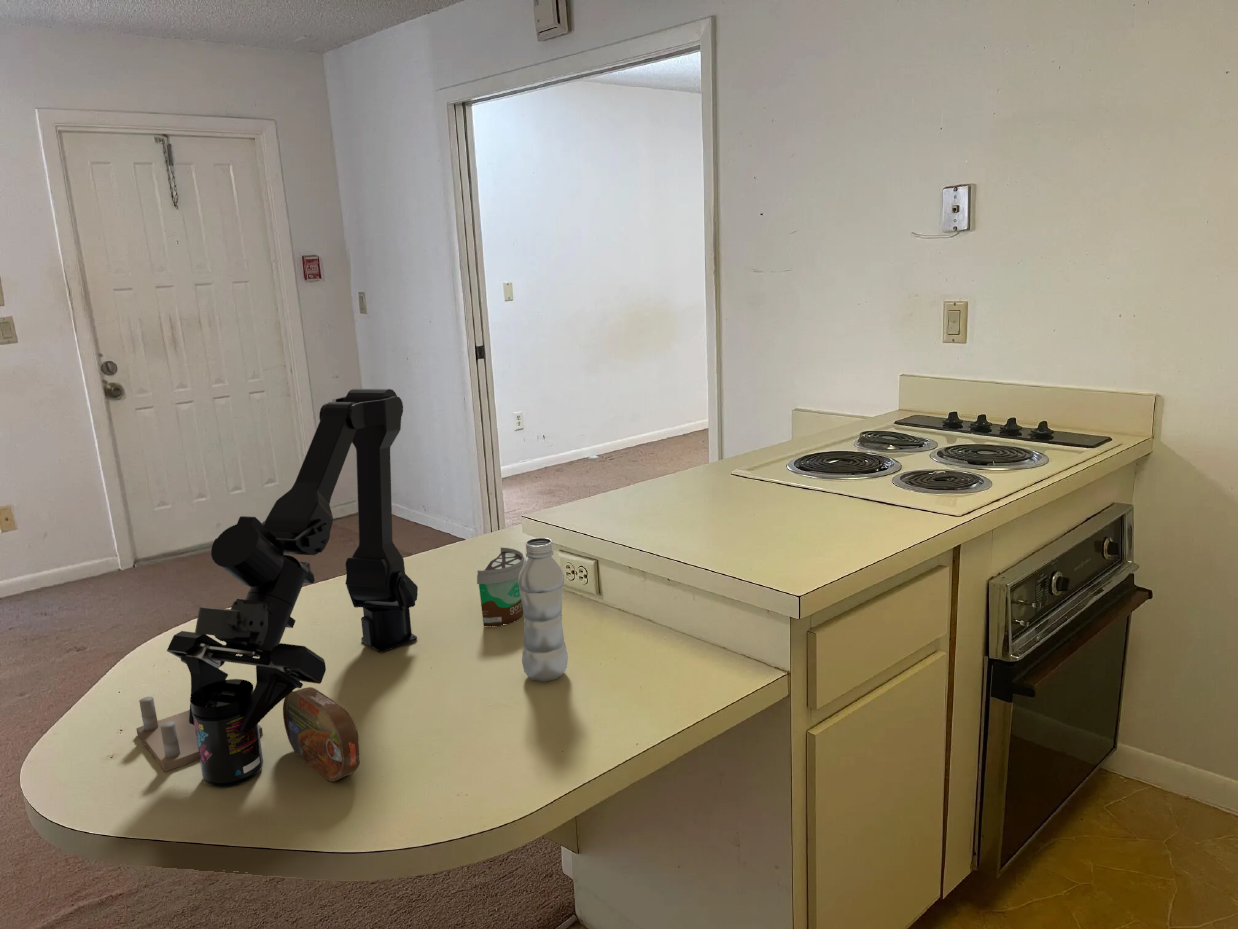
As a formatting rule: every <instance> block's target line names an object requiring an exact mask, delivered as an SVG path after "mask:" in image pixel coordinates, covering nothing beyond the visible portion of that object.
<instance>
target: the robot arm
mask: <svg viewBox="0 0 1238 929" xmlns="http://www.w3.org/2000/svg"><path fill="white" fill-rule="evenodd" d="M403 412H404V403H403V400H402V399H401V398H400V396H398V394H397V393H396V391H395V390H393V389H391V388H352V389H350V390H349V391H348V392H347V394H346V395H345V396H341V397H337V398H333V399H332V400H331V401H328V403H324V404H323V405H321V408H320V410H319V423H318V425H317V426H316V430H315V432H314V434H313V437H312V440H311V441H310V444H309V447H308V450H307V451H306V454H305V456H304V459H303V462H302V464H301V466H300V469H299V471H298V474H297V476H296V478H295V481H294V483H293V485H292V487H291V488H290V489H289V490H288V491H287V492H285V493H284V494H283V495H282V496H280V497H279V498H278V499H277V500H276V501H275V503H274V504H273V506H272V508H271V509H270V511H269V513H268V515H267V516H266V518H265V520H264V521H263V522H261V521H260V520H259V519H258V518H257V517H256V516H249V515H248V516H246V515H243V516H242V515H241V516H239V517H238V520H237V523H236V524H233V525H231V526H229V527H228V528H226V529H225V530H223V531H222V533H220V534H219V535H218V536H217V538H215V539H214V541H212V542H213V543H212V546H211V549H210V550H211V553H210V555H211V558H212V561H213V562H214V563H215V565H217V566H219V567H220V568H221V569H222V570H224V571H226V572H227V573H228V574H230V575H231V577H233V578H234V579H236V580H237V581H239V582H240V583H241V584H243V585H244V586H247V587H249V588H248V591H247V593H246V596H245V598H244V599H243V598H242V599H241V598H236V600H235V601H233V604H232V606H231V607H230V608H219V607H218V608H216V607H206V606H205V607H201V606H199V609H198V614H197V620H196V625H195V628H194V629H195V631H194V632H193V631H187V630H186V631H185V630H182V631H179V632H177V633H176V634H173V637H172V638H171V641H170V643H169V644H168V646H167V649H166V652H168V653H170V654H172V655H173V656H175V657H176V658H179V659H180V661H181V662H182V663H183V664H186V667H187V669H188V671H189V674H190V697H191V696H192V694H193V693H194V692H195V691H197V690H198V689H200V688H202V687H204V686H206V685H208V684H211V683H214V682H218V681H222V680H227V678H228V676H229V673H227V672H225V671H224V670H222V669H220V667H222V666H223V665H225V663H234V664H240V665H241V664H243V665H249V666H256V667H255V673H256V675H255V676H256V684H255V686H254V692H253V694H252V697H251V699H250V702H249V704H248V707H247V709H246V712H245V714H244V717H243V720H242V724H241V728H240V732H242V733H245V734H247V733H249V732H250V731H251V730H252V729H253V728H254V727H255V726H256V725H257V724H259V723H260V722H261V721H262V720H263V719H264V718H265V717H266V716H267V714H269V713H270V712H271V711H272V710H273V709H274V708H275V707H276V706H277V705H278V704H279V703H280V702H281V701H283V700H284V699H285V697H286V696H287V695H288V694H289V693H291V692H292V691H295V689H303V688H302V687H303V685H304V684H303V683H302V682H304V683H311V684H318V685H321V683H322V681H323V678H324V676H325V673H326V670H327V667H326V661H325V659H324V658H323V657H322V656H320V655H318V654H317V653H316V652H314V651H313V650H311V649H310V648H308V647H307V646H305V645H297V644H289V643H284V642H283V643H282V642H281V641H282V639H283V636H284V633H285V631H286V628H289V629H293V628H294V626H295V623H296V621H297V620H296V619H294V618H292V613H293V610H294V607H295V605H296V602H297V601H298V598H299V595H300V592H301V590H302V588H303V586H304V584H310V585H312V584H314V583H315V580H316V579H315V575H314V573H313V571H312V569H311V565H310V562H307V561H299V560H298V559H297V558H296V557H294V556H291V555H298V556H299V555H302V556H303V555H304V556H316V555H317V554H319V553H320V554H321V553H323V551H324V550H325V549H326V546H327V545H328V544H329V543H328V542H329V540H330V537H331V530H332V526H333V522H334V517H333V513H332V509H331V506H330V503H331V499H332V496H333V494H334V491H335V488H336V485H337V483H338V480H339V477H340V475H341V471H342V470H343V467H344V464H345V462H346V458H347V456H348V454H349V451H350V448H351V445H353V446H354V448H355V451H356V452H355V453H356V460H355V461H356V483H357V484H356V488H357V489H356V490H357V492H356V493H357V516H358V517H357V518H358V520H357V521H358V522H357V527H358V546H357V548H355V551H354V552H353V554H352V556H350V557H347V559H346V561H345V572H346V573H345V574H346V579H345V586H346V589H347V592H348V595H349V597H350V599H351V600H350V601H351V602H352V605H353V607H354V608H362V611H363V615H362V617H361V619H360V620H361V629H362V636H361V641H362V642H363V643H365V644H366V645H368V646H369V647H371V648H372V649H374V650H376V651H377V652H378V653H384V652H387V651H389V650H393V649H395V648H398V647H401V646H404V645H406V644H410V643H412V642H415V641H417V640H418V636H417V635H415V634H413V633H412V624H411V623H412V622H411V612H410V608H414V607H415V606H416V601H417V599H418V590H419V587H418V585H417V584H416V583H415V582H414V581H413V580H412V579H411V577H409V576H408V575H407V574H406V570H405V567H406V566H405V560H404V558H403V556H402V554H401V553H400V551H399V549H398V548H397V547H396V545H395V544H394V541H393V517H392V516H393V515H392V514H393V511H392V510H393V509H392V476H391V474H392V473H391V471H392V470H391V469H392V468H391V467H392V466H391V447H392V445H393V443H394V442H395V440H396V438H397V436H398V435H399V433H400V431H401V428H402V426H401V425H402V416H403ZM211 636H214V638H215V639H217V640H218V641H217V640H215V639H214V638H213V637H211ZM219 641H220V642H219ZM221 642H225V644H222V643H221ZM189 710H190V713H189V723H190V724H192V725H194V720H193V715H192V709H191V703H189Z"/></svg>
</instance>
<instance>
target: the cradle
mask: <svg viewBox="0 0 1238 929" xmlns="http://www.w3.org/2000/svg"><path fill="white" fill-rule="evenodd" d="M138 702H139V707H140V712H141V713H140V714H141V718H142V726H139V727H136V728H135V729H136V734H137V737H139V738H138V739H140V741H141V742H142V743H143V744H144V746H145V747H146V749H147V750H148V751H149V753H151V755H152V756H153V758H154V759H155V760H156V761H157V763H158V764H159V766H160V767H161V769H163V771H164V772H165V773H166V772H168V771H171V770H173V769H176V768H180V767H182V766H184V765H187V764H189V763H192V762H194V761H198V760H200V758H199V751H198V745H197V739H196V732H195V726H194V725H192V724H190V723H189V713H190V709H188V710H185V711H182V712H180V713H177V714H176V713H175V714H174V715H171V716H168V717H165V718H162V719H159V720H158V717H157V711H156V705H155V699H154V697H153V696H144V697H143V698H141V699H139V701H138ZM258 726H259V733H260V737H261V736H263V734H264V732H263V727H262V726H261V725H260V724H259V723H258Z"/></svg>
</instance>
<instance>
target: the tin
mask: <svg viewBox="0 0 1238 929" xmlns="http://www.w3.org/2000/svg"><path fill="white" fill-rule="evenodd" d="M282 717H283V724H284V729H285V732H286V735H287V738H288V741H289V744H290V747H291V748H292V750H293V751H294V753H295V755H297V756H298V757H299V758H300V759H301V760H302V761H304V762H305V763H306V764H308V766H310V767H311V768H312V769H314V770H315V771H316V772H317V773H318V774H320V775H321V776H322V777H323V778H324V779H326V780H328V782H337V781H339V780H340V779H343V778H345V777H347V776H350V775H351V774H354V773H355V772H356V771H357V770H358V768H359V766H360V763H361V762H360V742H359V741H360V739H359V733H358V729H357V726H356V724H355V722H354V720H353V717H352V715H351V714H350V713H349V712H348V710H347V709H346V708H345V707H343V706H342V705H340V704H339V703H337V702H336V701H334V700H333V699H332V698H331V697H329V696H327V695H326V694H325V693H322V692H321V691H320V690H319V689H316V688H314V687H311V686H310V687H304V688H299V689H297V690H293V691H292V692H291V693H289V694H288V695H287V696H286V697H285V698H284V699H283V704H282Z"/></svg>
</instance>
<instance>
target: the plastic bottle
mask: <svg viewBox="0 0 1238 929" xmlns="http://www.w3.org/2000/svg"><path fill="white" fill-rule="evenodd" d="M554 553H555V552H554V549H553V540H552V539H551V538H548V537H533V538H529V539H528V540H526V542H525V558H526V557H527V559H526V562H525V564H524V565H523V567H522V569H521V571H520V573H519V577H518V585H519V590H520V595H521V600H522V605H523V622H524V623H523V624H524V626H523V627H524V629H523V630H524V631H523V632H524V634H523V647H522V656H521V664H522V668H523V672H524V673H525V675H526V676H527V677H528V678H529V679H531V680H533V681H537V682H548V681H553V680H556V679H559V678H560V677H561V676H562V675H564V673H565V672H566V670H567V668H568V660H569V656H568V655H569V654H568V648H567V645H566V642H565V635H564V634H565V633H564V628H563V627H564V626H563V614H562V613H563V596H564V595H563V594H564V584H565V574H564V572H563V569H562V568H561V566H560V565H559V563H558V562H557V561H556V559H555V558H553V555H554Z"/></svg>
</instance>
